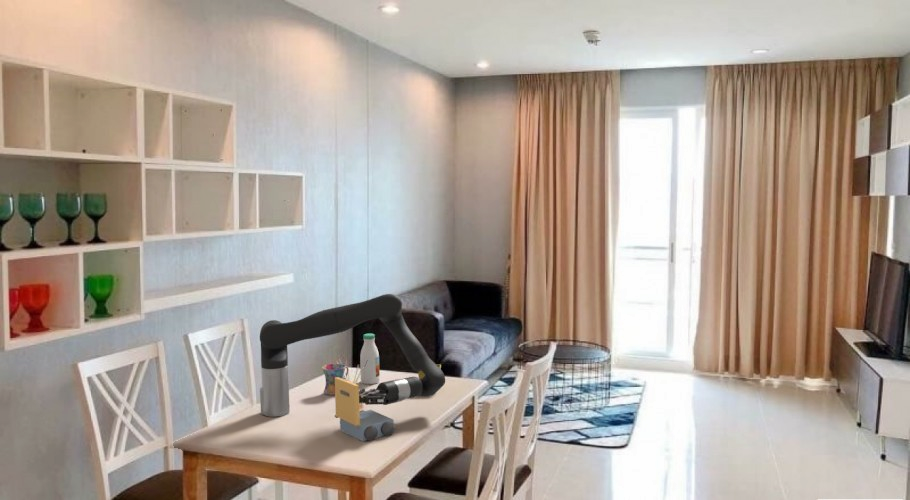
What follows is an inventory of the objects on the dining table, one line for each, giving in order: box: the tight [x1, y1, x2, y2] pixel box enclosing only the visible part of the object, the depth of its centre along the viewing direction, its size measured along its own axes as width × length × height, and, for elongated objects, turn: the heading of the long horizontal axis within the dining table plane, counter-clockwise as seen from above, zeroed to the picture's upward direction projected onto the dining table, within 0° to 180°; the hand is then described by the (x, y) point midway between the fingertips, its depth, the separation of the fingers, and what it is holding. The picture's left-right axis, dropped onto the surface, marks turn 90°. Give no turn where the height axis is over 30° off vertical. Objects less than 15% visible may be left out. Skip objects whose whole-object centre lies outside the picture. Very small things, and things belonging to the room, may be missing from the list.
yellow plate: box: [334, 377, 361, 429], centre depth 234 cm, size 2×15×14 cm, turn 39°
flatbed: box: [339, 409, 395, 442], centre depth 239 cm, size 12×16×4 cm
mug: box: [321, 363, 349, 396], centre depth 284 cm, size 12×9×11 cm
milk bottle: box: [359, 333, 381, 385], centre depth 297 cm, size 8×8×20 cm
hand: (349, 401), depth 235 cm, fingers closed
